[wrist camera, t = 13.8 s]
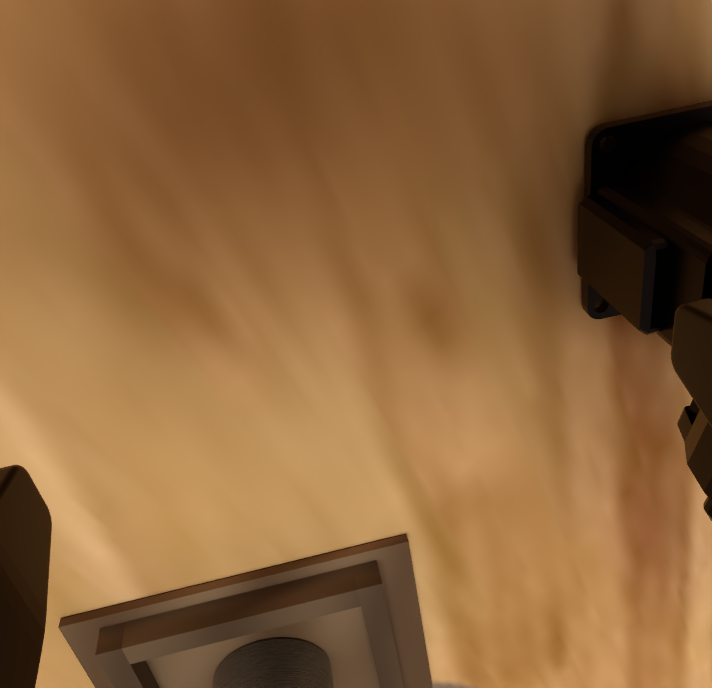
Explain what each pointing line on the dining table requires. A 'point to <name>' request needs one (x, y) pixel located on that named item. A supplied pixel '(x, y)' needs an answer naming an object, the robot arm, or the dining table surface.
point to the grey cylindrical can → (275, 666)
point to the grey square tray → (267, 623)
